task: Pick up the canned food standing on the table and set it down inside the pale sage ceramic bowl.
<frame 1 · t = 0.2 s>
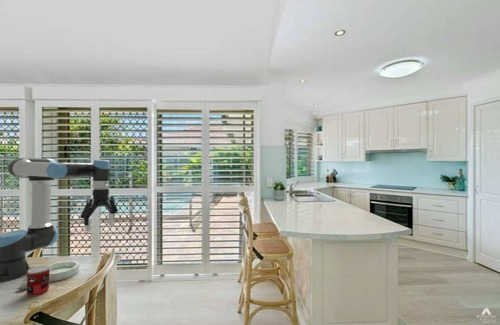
hand: (99, 228, 126), 28 cm above the table, fingers open, 13 cm apart
pebble b: (26, 285, 119), on the table
canned food: (37, 292, 113), on the table
pebble a: (25, 288, 116), on the table
bowl: (59, 274, 131), on the table
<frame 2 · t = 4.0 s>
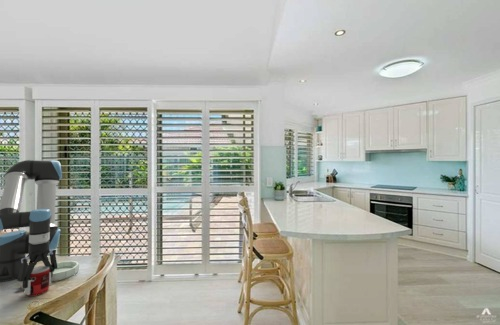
hand: (38, 289, 113), 1 cm above the table, fingers closed on canned food, 8 cm apart
canned food: (37, 292, 113), on the table, touching gripper
everything else where it was.
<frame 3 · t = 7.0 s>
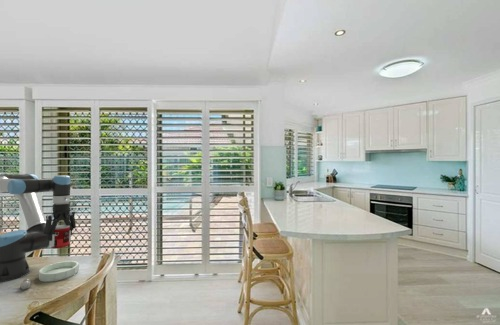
hand: (60, 243, 131), 17 cm above the table, fingers closed on canned food, 8 cm apart
canned food: (60, 246, 131), point 15 cm above the table, touching gripper
everything else where it was.
when the fingers open (5 cm above the table, at t = 10.0 s): canned food drops 2 cm, resting on bowl.
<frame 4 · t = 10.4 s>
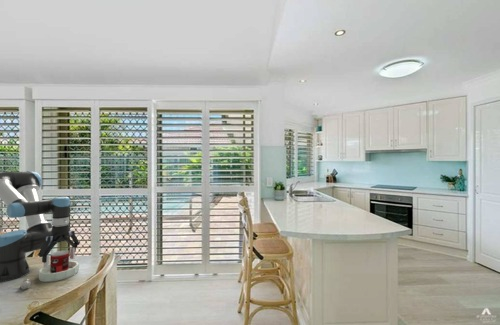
hand: (59, 263, 131), 6 cm above the table, fingers open, 13 cm apart
canned food: (59, 272, 131), point 1 cm above the table, touching bowl
everything else where it was.
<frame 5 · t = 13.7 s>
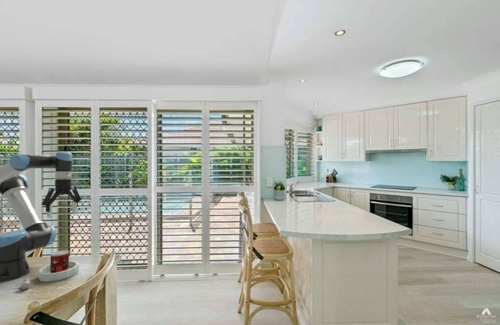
hand: (62, 215, 137), 32 cm above the table, fingers open, 13 cm apart
nothing on the table moved.
at the end: canned food 0.0 cm from the bowl (horizontally); canned food tilted 0°; the gripper is holding nothing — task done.
